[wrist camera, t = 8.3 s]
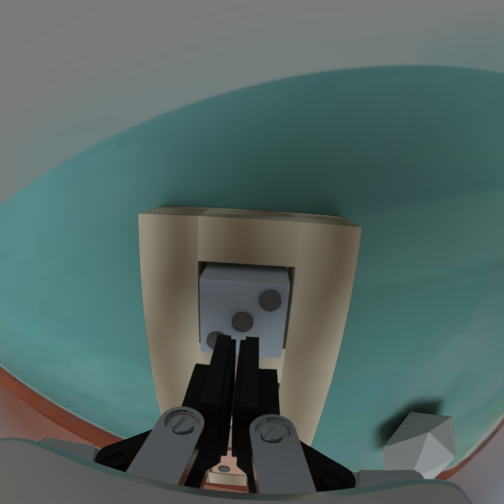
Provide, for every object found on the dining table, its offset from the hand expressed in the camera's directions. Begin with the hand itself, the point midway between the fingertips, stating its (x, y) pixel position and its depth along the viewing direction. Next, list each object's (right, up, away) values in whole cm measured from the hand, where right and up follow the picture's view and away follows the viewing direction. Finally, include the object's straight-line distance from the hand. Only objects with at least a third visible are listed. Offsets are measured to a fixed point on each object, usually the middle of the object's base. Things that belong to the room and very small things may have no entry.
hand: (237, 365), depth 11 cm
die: (+18, -15, +13) cm, 27 cm away
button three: (0, +2, +6) cm, 6 cm away
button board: (0, -5, +11) cm, 12 cm away
